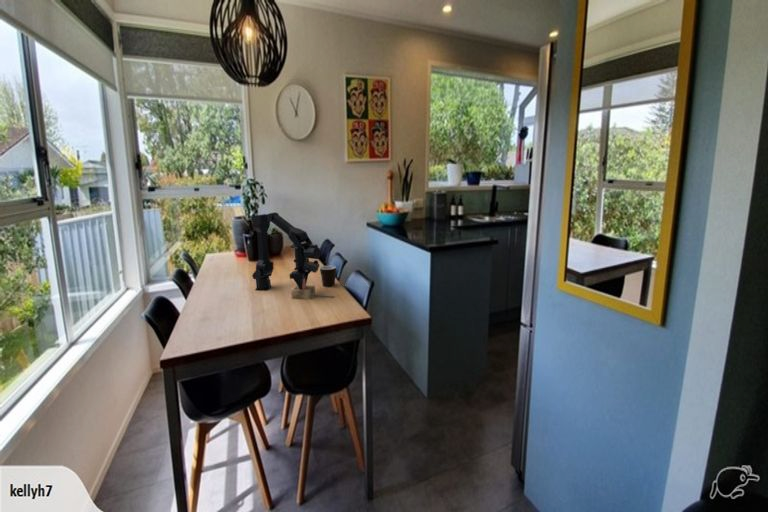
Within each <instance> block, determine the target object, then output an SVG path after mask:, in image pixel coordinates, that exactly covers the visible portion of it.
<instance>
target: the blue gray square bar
mask: <svg viewBox="0 0 768 512" xmlns="http://www.w3.org/2000/svg"><path fill="white" fill-rule="evenodd" d="M312 297H319V298H331V299H334V298H335V297H336V296H334V295H320V294H319V295H318V294H314V295H313V296H312Z"/></svg>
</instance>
